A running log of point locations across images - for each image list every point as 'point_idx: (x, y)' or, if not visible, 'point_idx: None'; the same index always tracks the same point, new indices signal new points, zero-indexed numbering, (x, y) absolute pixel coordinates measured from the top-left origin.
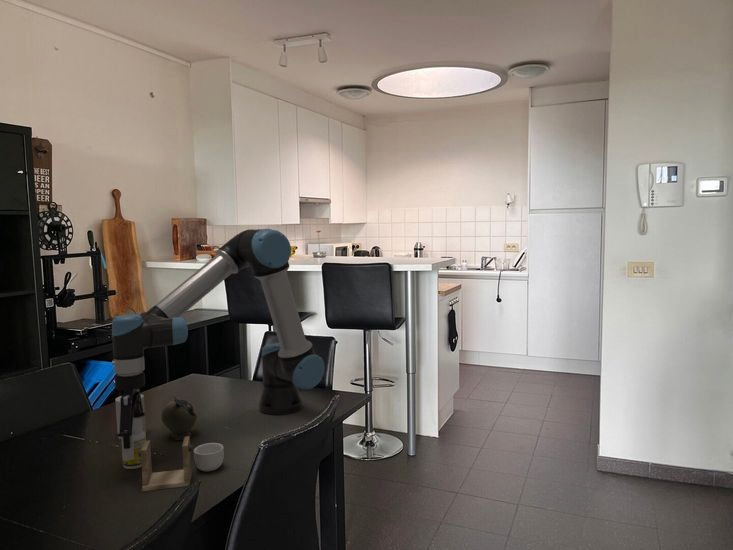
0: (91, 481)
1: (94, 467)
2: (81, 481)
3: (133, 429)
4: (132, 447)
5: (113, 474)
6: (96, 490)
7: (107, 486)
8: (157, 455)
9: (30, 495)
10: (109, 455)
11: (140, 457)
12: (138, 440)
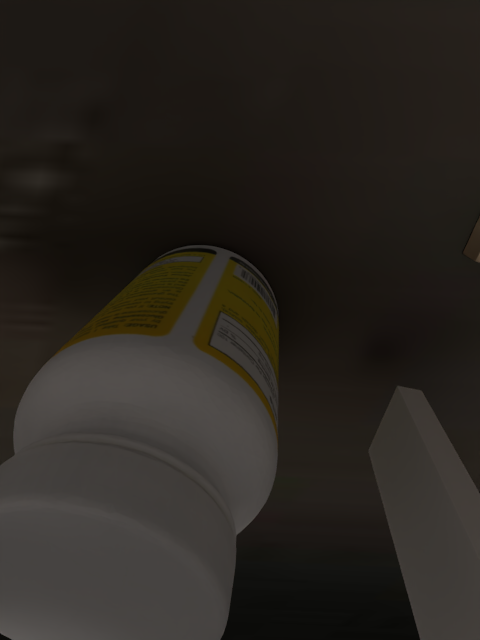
0: (324, 493)
1: None
2: (300, 520)
3: (227, 593)
4: (466, 481)
5: (291, 416)
6: None
7: None
8: (88, 164)
9: (334, 629)
10: None
11: (271, 313)
12: (268, 415)
